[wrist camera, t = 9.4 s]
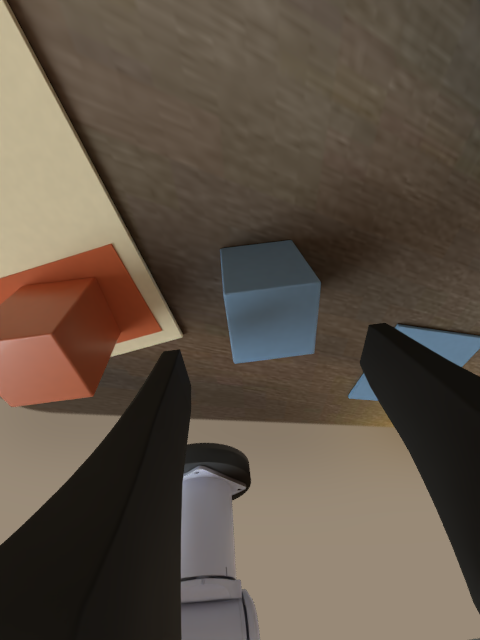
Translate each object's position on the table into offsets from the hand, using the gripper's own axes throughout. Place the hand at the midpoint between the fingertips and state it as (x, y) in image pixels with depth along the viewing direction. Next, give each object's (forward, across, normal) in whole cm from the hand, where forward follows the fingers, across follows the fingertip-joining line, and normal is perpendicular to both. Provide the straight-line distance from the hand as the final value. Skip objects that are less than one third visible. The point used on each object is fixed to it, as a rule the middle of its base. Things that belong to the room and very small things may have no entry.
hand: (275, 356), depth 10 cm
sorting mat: (+7, +13, -13) cm, 20 cm away
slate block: (+7, 0, 0) cm, 7 cm away
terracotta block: (+6, +11, +1) cm, 12 cm away
